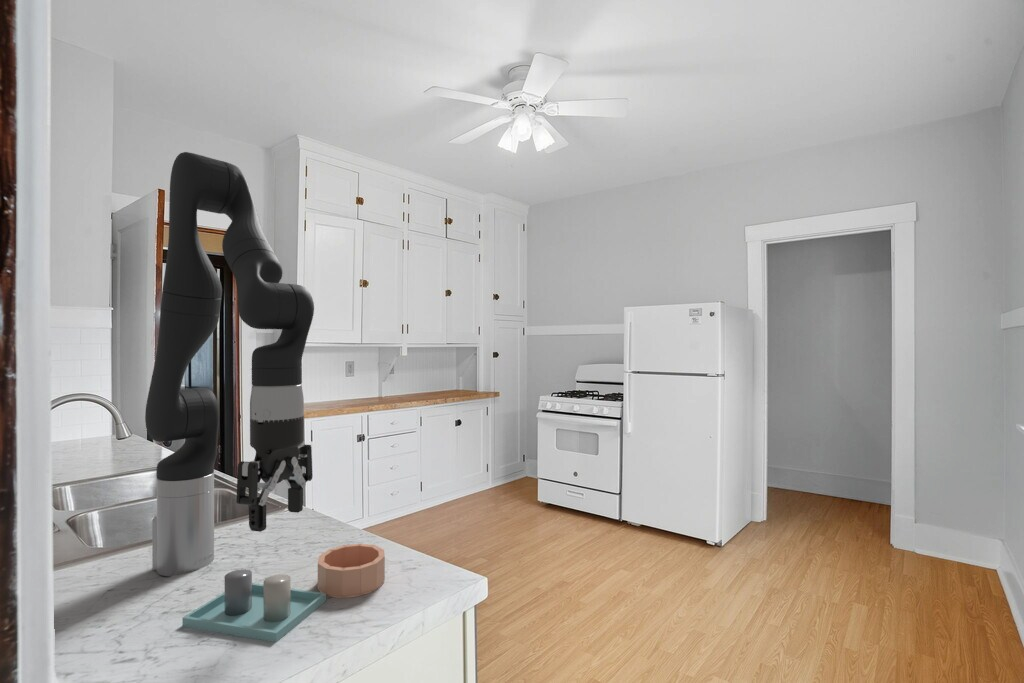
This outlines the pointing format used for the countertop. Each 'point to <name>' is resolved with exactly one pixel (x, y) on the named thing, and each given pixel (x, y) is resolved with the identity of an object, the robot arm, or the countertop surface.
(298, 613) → the tray
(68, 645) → the countertop surface
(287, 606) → the beige rounded cylinder
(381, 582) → the bowl
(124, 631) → the countertop surface
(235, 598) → the grey rounded cylinder
